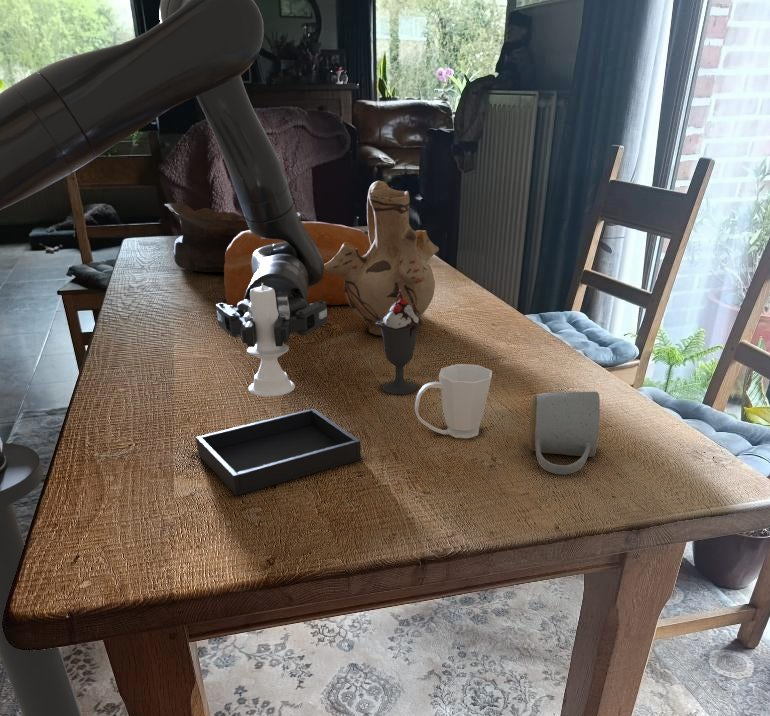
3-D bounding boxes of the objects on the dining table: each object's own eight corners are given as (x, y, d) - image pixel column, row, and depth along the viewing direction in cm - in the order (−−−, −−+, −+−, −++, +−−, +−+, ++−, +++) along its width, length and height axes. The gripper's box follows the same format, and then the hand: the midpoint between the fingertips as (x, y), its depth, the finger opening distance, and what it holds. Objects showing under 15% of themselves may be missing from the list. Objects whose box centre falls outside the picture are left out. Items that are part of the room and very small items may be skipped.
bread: (231, 293, 157) (222, 218, 149) (379, 289, 158) (378, 215, 150) (223, 310, 145) (213, 229, 137) (383, 305, 147) (382, 225, 139)
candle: (256, 379, 85) (245, 277, 79) (299, 381, 84) (291, 278, 78) (242, 396, 80) (229, 289, 74) (288, 398, 80) (279, 290, 74)
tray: (236, 496, 79) (233, 476, 77) (198, 455, 88) (195, 436, 86) (361, 459, 86) (360, 440, 85) (314, 425, 95) (313, 408, 94)
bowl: (191, 258, 198) (186, 200, 191) (309, 264, 197) (309, 206, 191) (149, 275, 167) (143, 206, 160) (290, 282, 166) (289, 213, 160)
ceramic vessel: (324, 339, 127) (316, 187, 114) (363, 312, 143) (360, 175, 130) (420, 350, 122) (423, 192, 109) (450, 320, 137) (456, 178, 124)
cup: (497, 440, 90) (502, 379, 86) (421, 447, 89) (422, 386, 85) (480, 418, 96) (483, 361, 92) (408, 425, 95) (408, 367, 90)
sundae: (393, 400, 102) (393, 295, 95) (369, 386, 107) (366, 285, 99) (430, 390, 105) (433, 288, 98) (404, 377, 110) (405, 279, 102)
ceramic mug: (526, 436, 91) (531, 379, 87) (591, 439, 90) (600, 382, 86) (525, 475, 82) (531, 414, 78) (597, 480, 81) (607, 418, 77)
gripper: (219, 267, 89) (193, 304, 74) (330, 264, 89) (326, 301, 74) (227, 326, 93) (204, 373, 78) (333, 323, 93) (330, 369, 78)
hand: (264, 337), depth 76 cm, fingers closed on candle, 2 cm apart
